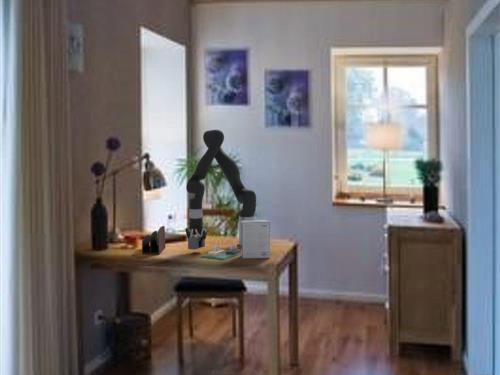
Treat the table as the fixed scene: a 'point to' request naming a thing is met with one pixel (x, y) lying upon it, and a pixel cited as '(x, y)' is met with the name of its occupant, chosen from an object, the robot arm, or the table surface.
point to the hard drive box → (255, 238)
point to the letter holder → (154, 243)
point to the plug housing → (194, 243)
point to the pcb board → (223, 253)
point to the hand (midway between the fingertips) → (196, 246)
